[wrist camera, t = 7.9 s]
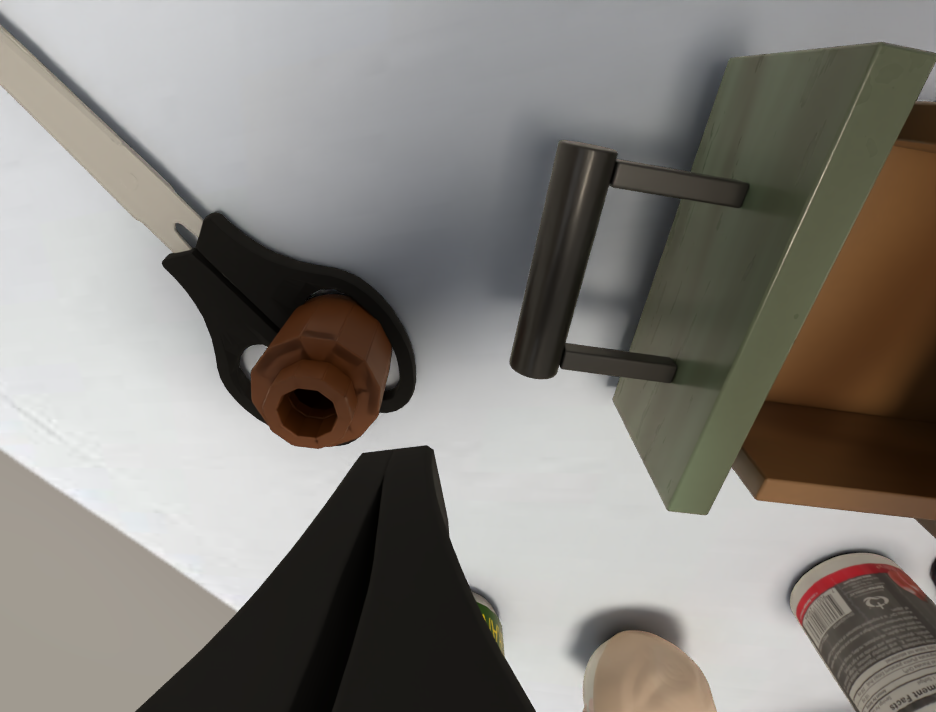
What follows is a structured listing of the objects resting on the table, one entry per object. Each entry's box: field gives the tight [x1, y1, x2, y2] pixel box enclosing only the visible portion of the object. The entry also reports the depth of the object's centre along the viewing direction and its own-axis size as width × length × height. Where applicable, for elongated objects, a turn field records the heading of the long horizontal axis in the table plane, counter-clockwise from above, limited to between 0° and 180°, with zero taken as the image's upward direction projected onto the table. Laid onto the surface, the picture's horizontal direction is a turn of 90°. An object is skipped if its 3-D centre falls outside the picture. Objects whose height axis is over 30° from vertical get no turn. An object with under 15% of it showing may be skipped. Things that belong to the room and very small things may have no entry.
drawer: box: [509, 42, 936, 520], centre depth 14 cm, size 17×11×6 cm, turn 81°
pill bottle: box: [790, 553, 936, 712], centre depth 21 cm, size 5×5×10 cm
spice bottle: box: [251, 294, 392, 449], centre depth 16 cm, size 4×4×4 cm
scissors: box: [0, 25, 416, 446], centre depth 16 cm, size 7×1×20 cm
